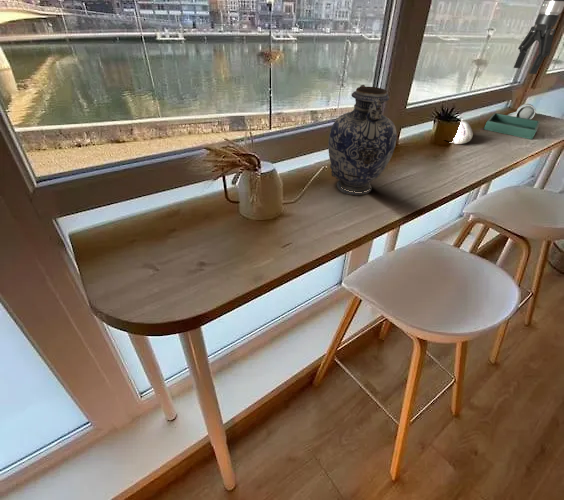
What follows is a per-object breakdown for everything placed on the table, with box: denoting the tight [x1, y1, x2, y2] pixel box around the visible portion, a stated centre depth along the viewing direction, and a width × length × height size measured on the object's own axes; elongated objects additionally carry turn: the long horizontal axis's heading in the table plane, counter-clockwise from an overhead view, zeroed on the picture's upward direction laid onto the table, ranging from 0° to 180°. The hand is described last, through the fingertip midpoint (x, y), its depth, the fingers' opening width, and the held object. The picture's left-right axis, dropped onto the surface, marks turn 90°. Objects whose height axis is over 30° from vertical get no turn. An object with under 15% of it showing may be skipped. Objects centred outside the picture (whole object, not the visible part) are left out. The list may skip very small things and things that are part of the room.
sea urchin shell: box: [450, 119, 474, 145], centre depth 135 cm, size 13×14×8 cm
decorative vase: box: [327, 84, 398, 196], centre depth 92 cm, size 21×19×28 cm
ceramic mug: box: [507, 103, 537, 120], centre depth 162 cm, size 11×8×8 cm
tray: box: [483, 112, 541, 140], centre depth 150 cm, size 20×18×4 cm
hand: (524, 70), depth 150 cm, fingers open, 13 cm apart
